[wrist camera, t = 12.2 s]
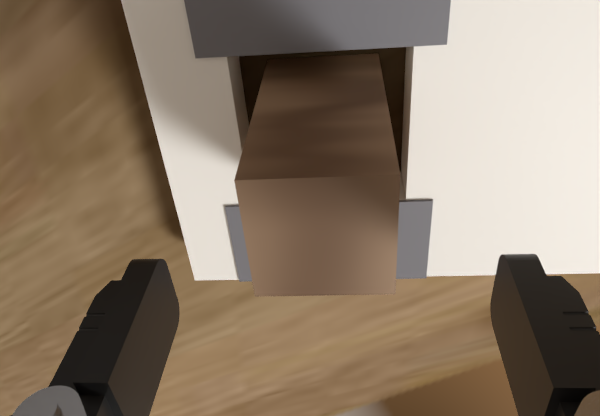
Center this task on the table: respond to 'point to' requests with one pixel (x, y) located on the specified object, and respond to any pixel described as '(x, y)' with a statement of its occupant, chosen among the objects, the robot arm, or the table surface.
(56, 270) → the table surface
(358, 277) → the brown wooden block
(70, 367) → the robot arm
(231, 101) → the subfloor panel
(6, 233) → the table surface
